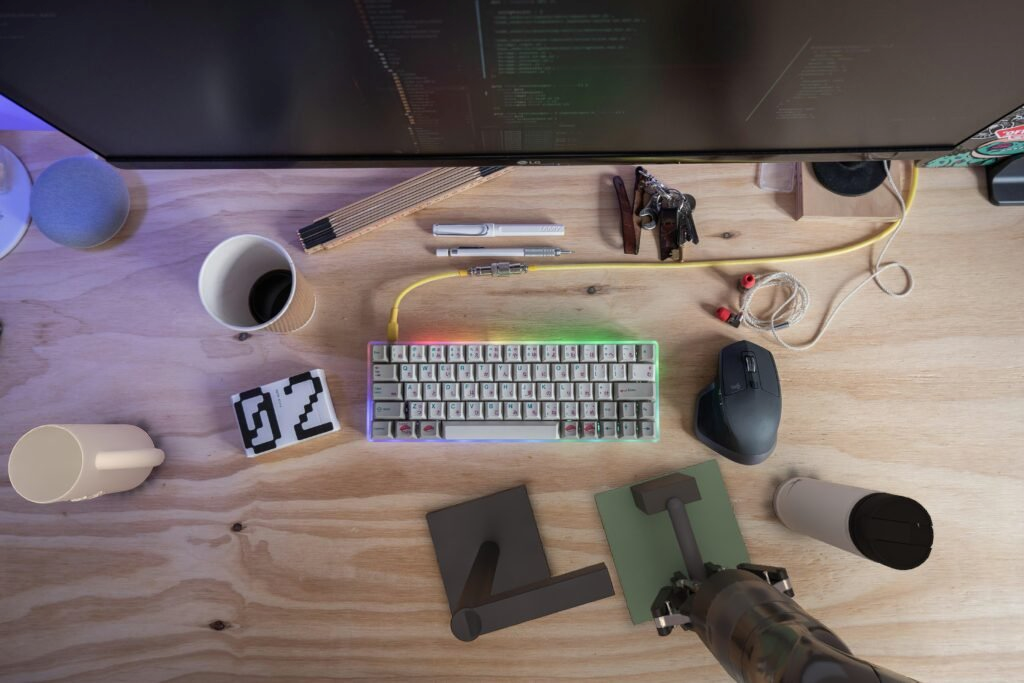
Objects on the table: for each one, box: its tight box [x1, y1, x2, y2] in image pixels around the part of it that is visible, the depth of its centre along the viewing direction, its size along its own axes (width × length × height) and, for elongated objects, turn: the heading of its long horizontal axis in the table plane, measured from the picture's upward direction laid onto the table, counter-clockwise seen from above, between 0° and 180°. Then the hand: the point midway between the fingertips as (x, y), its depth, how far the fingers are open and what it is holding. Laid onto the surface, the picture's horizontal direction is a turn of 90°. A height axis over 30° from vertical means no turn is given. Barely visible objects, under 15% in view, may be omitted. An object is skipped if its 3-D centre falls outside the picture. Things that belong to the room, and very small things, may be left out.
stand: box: [425, 483, 616, 643], centre depth 57 cm, size 12×17×27 cm
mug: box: [7, 423, 166, 505], centre depth 67 cm, size 8×12×12 cm
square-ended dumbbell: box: [630, 472, 708, 632], centre depth 65 cm, size 14×6×8 cm, turn 16°
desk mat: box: [594, 458, 752, 626], centre depth 70 cm, size 15×15×1 cm
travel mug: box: [772, 476, 935, 571], centre depth 60 cm, size 6×7×20 cm
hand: (694, 576), depth 65 cm, fingers open, 3 cm apart
